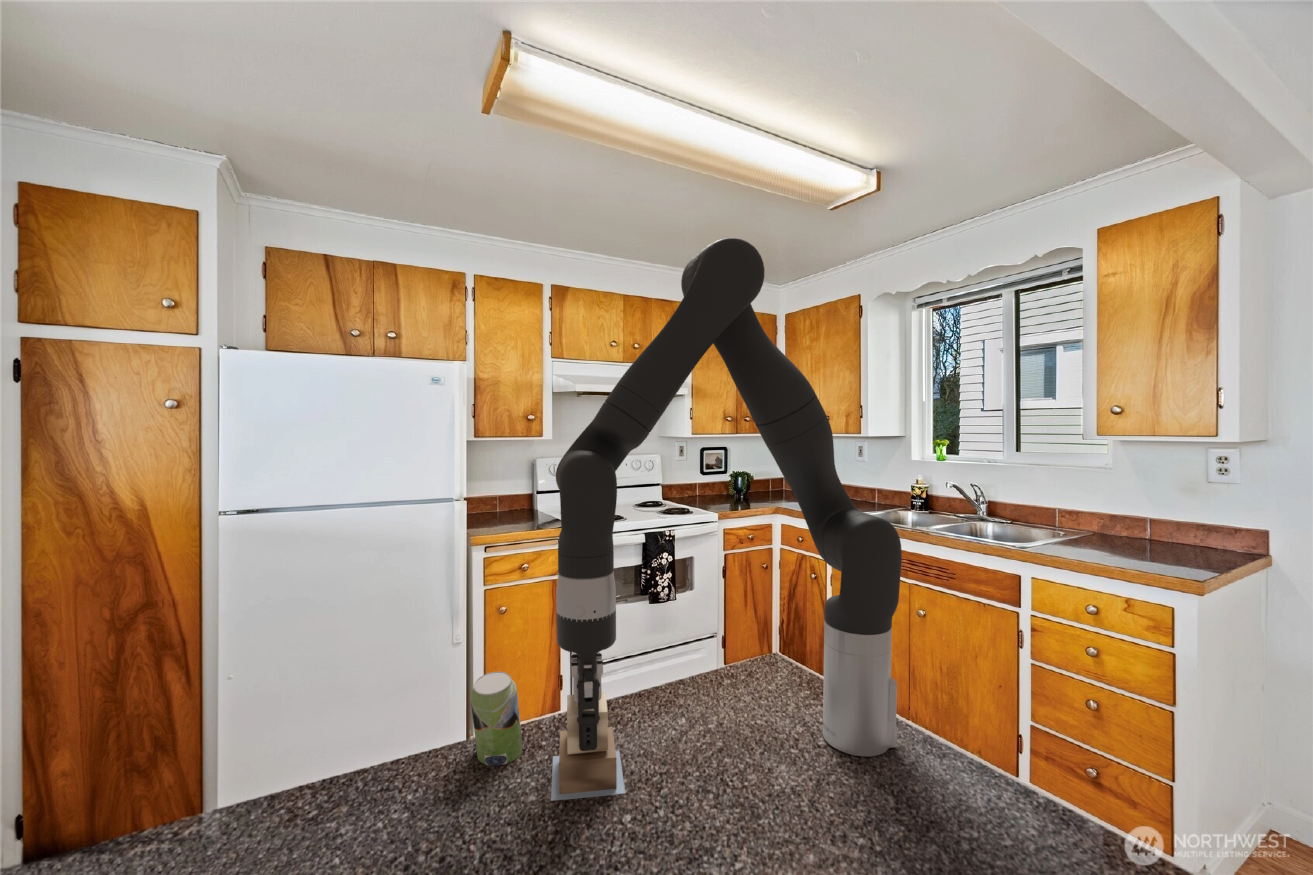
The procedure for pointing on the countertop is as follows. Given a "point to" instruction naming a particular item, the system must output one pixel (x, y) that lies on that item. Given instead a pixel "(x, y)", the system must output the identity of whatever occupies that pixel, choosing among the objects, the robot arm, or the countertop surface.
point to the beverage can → (496, 719)
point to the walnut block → (587, 768)
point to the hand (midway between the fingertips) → (587, 735)
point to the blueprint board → (619, 790)
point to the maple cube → (574, 727)
